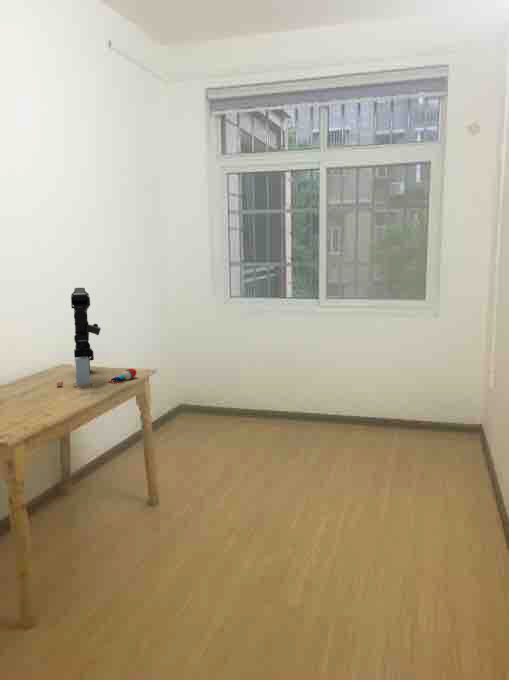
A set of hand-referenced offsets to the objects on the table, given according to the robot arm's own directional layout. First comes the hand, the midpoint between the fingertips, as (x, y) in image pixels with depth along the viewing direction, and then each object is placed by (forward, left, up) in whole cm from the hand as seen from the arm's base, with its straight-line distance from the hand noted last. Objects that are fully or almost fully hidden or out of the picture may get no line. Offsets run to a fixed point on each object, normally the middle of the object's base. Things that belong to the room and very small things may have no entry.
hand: (82, 352), depth 258 cm
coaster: (+10, +2, -13) cm, 17 cm away
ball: (+12, -8, -13) cm, 19 cm away
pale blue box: (+10, +2, -12) cm, 16 cm away
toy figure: (+1, +19, -14) cm, 23 cm away
